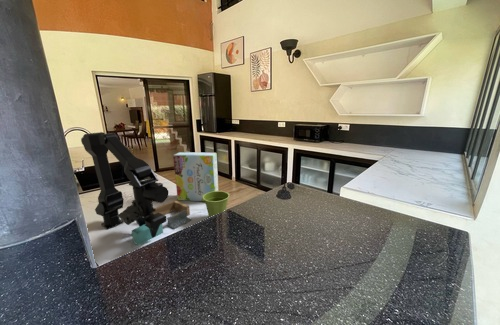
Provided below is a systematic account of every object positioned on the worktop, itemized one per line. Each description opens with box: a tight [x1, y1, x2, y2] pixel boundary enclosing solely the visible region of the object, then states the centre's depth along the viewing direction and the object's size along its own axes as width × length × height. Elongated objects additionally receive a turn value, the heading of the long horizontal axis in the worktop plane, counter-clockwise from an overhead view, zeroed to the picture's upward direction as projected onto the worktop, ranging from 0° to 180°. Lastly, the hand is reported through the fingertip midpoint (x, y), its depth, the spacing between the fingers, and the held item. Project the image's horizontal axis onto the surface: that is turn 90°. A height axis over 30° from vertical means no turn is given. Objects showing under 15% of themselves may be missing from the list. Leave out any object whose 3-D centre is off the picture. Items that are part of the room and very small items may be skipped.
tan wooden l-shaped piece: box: [152, 199, 191, 217], centre depth 96 cm, size 11×16×4 cm
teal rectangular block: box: [131, 223, 164, 246], centre depth 82 cm, size 4×10×5 cm, turn 145°
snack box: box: [172, 151, 219, 202], centre depth 114 cm, size 22×9×26 cm, turn 84°
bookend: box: [166, 210, 192, 230], centre depth 92 cm, size 4×9×4 cm, turn 145°
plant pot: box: [203, 190, 230, 218], centre depth 95 cm, size 12×12×11 cm
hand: (148, 233), depth 82 cm, fingers open, 7 cm apart
